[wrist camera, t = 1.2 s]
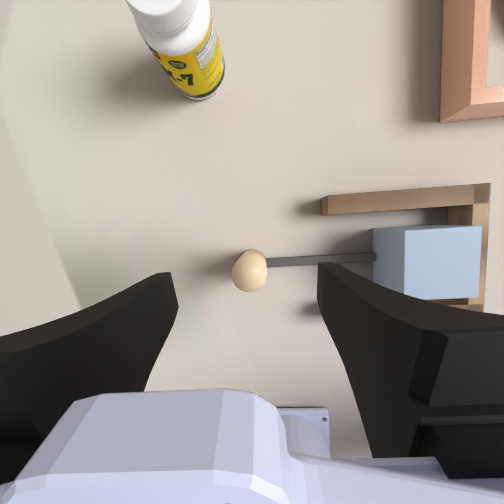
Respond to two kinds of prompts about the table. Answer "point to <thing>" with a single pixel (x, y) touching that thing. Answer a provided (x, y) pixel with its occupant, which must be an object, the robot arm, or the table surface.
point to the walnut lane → (455, 197)
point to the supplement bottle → (183, 43)
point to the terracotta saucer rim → (467, 63)
